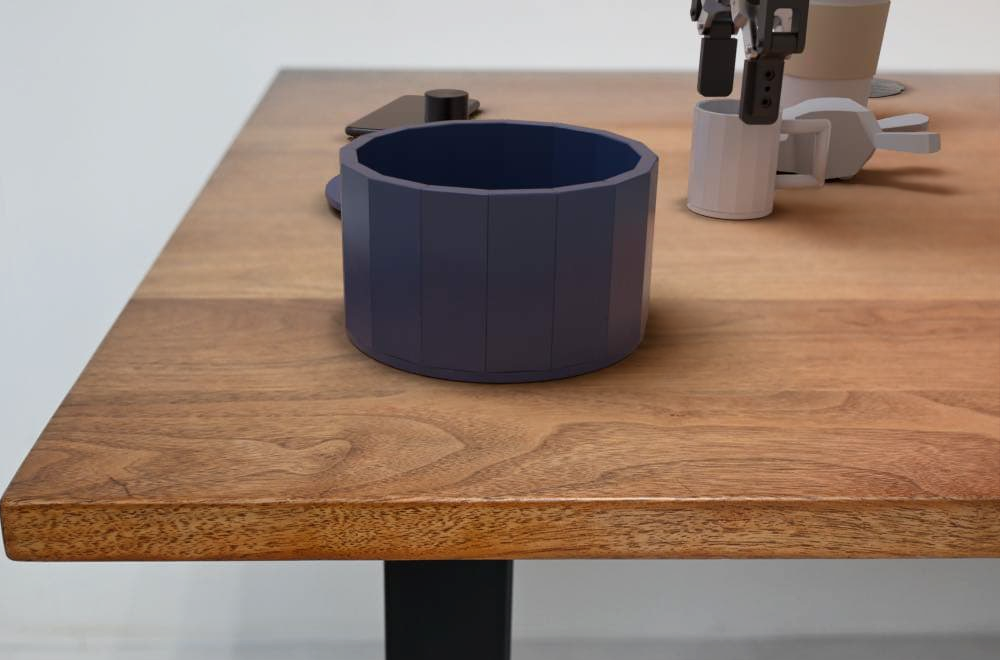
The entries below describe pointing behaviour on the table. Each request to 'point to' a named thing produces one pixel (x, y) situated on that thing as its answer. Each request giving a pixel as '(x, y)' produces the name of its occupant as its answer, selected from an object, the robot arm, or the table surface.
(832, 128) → the bunny figurine
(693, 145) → the mug
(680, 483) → the table surface
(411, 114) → the smartphone
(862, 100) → the coffee cup
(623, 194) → the pot
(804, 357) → the table surface
